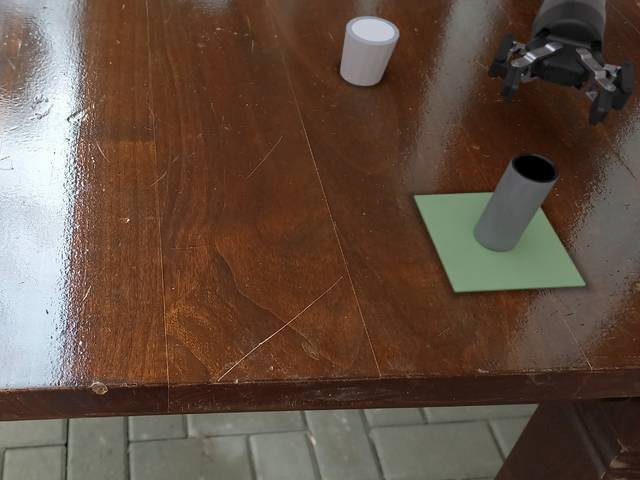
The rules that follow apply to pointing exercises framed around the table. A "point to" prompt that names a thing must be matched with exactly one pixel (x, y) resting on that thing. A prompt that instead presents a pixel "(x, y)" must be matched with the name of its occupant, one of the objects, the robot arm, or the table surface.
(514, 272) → the cloth
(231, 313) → the table surface
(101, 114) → the table surface
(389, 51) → the white short cylinder
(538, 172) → the grey hollow cylinder
